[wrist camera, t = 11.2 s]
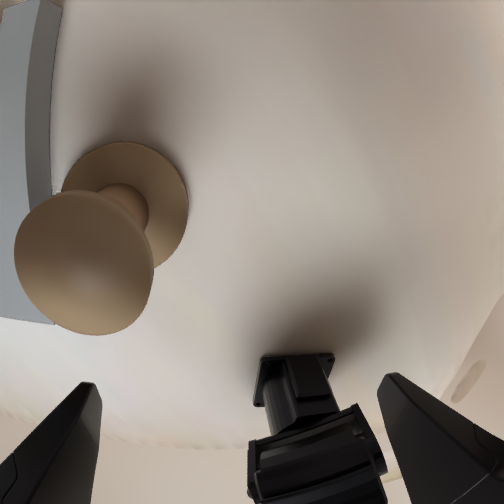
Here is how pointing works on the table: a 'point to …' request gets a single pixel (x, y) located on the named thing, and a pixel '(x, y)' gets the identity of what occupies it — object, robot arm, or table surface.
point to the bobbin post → (102, 238)
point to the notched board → (24, 135)
